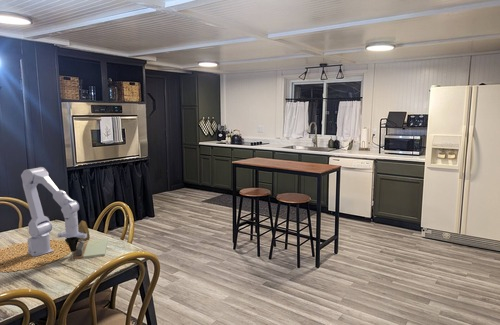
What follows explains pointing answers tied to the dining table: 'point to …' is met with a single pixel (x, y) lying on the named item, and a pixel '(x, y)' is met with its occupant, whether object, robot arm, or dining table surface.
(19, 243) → the dining table surface
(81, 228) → the rock
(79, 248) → the latch bar
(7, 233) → the dining table surface
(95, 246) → the door board
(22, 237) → the dining table surface
